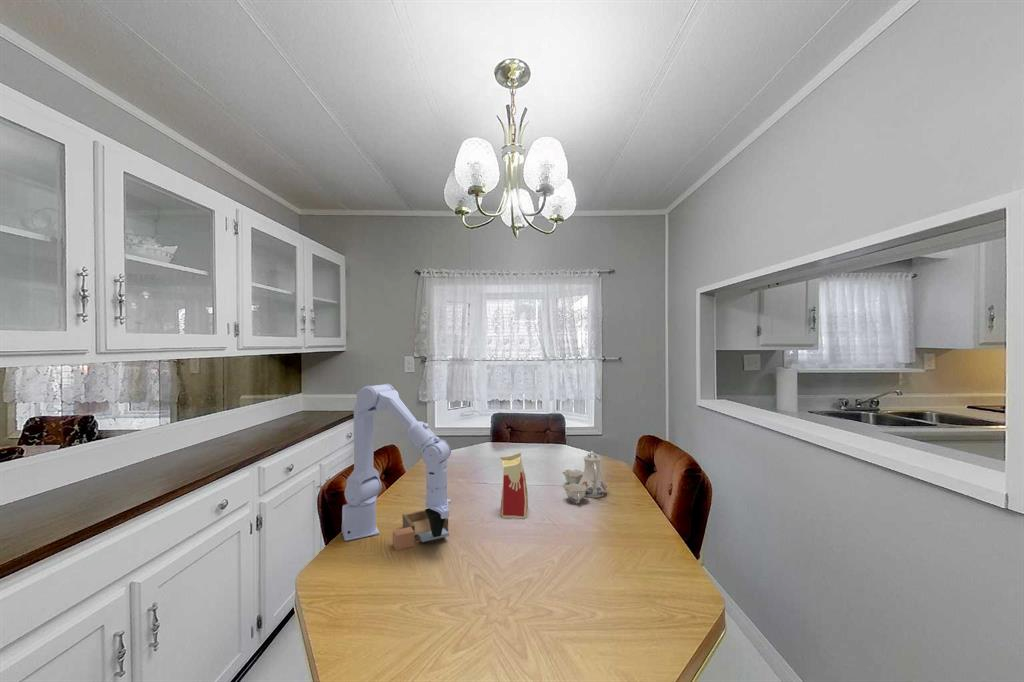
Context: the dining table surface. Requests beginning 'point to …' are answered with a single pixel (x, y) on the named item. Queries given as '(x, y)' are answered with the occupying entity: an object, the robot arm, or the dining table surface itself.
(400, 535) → the orange brown block
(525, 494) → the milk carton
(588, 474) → the chinaware
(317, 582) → the dining table surface
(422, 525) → the crate
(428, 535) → the panel
